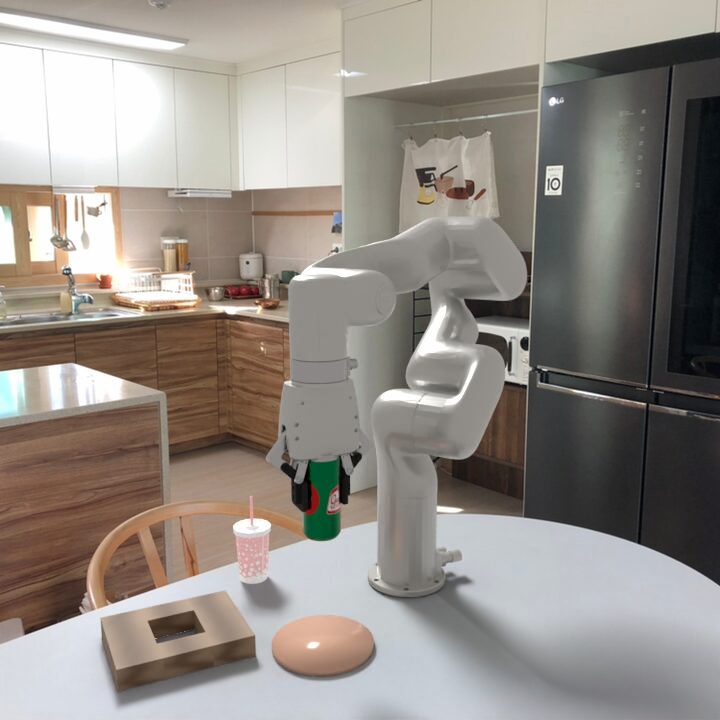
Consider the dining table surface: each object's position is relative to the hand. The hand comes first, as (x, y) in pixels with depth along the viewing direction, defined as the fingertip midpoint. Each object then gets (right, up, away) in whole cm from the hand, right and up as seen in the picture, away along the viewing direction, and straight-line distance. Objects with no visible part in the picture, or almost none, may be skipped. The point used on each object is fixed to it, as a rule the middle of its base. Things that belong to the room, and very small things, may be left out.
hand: (321, 503), depth 102 cm
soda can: (0, -5, +1) cm, 5 cm away
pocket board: (-20, -20, +4) cm, 29 cm away
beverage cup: (-12, -17, +24) cm, 32 cm away
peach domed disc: (0, -20, +4) cm, 21 cm away
